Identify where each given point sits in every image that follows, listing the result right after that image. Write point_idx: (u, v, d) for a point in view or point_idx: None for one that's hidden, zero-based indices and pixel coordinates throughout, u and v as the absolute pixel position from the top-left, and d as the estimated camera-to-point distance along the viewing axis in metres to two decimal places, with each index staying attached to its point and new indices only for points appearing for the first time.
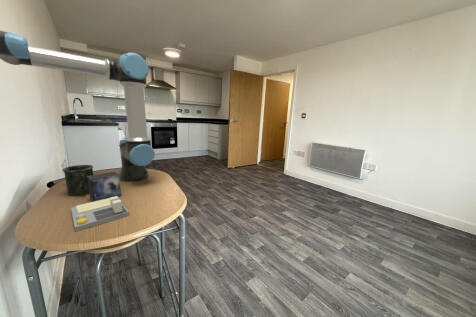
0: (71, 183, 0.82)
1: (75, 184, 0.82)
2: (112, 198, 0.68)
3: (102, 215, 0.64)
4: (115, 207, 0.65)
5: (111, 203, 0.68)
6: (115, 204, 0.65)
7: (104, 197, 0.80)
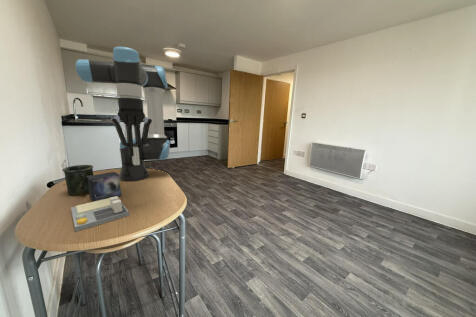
0: (71, 183, 0.82)
1: (75, 184, 0.82)
2: (112, 198, 0.68)
3: (102, 215, 0.64)
4: (115, 207, 0.65)
5: (111, 203, 0.68)
6: (115, 204, 0.65)
7: (104, 197, 0.80)
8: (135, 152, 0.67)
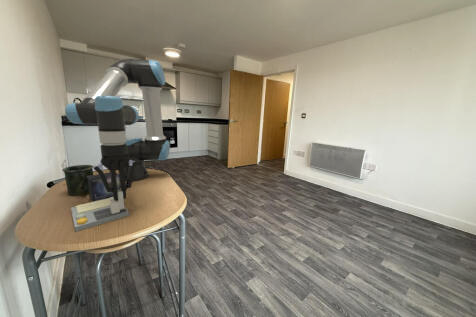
0: (71, 183, 0.82)
1: (75, 184, 0.82)
2: (112, 198, 0.68)
3: (102, 215, 0.64)
4: (112, 208, 0.65)
5: None
6: (112, 205, 0.64)
7: (104, 197, 0.80)
8: (120, 197, 0.65)
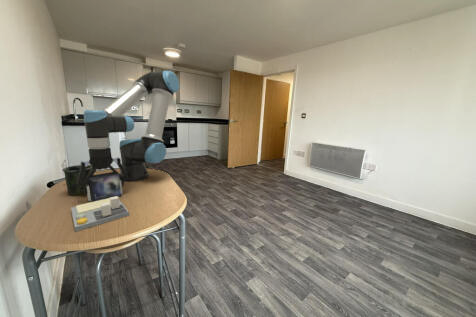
0: (71, 183, 0.82)
1: (75, 184, 0.82)
2: (112, 198, 0.68)
3: (102, 215, 0.64)
4: (103, 210, 0.63)
5: (111, 203, 0.68)
6: (103, 207, 0.63)
7: (104, 197, 0.79)
8: (88, 190, 0.77)
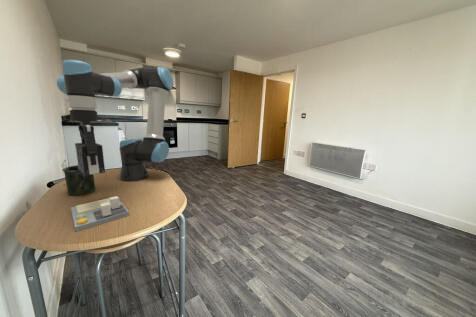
0: (71, 183, 0.82)
1: (75, 184, 0.82)
2: (112, 198, 0.68)
3: (102, 215, 0.64)
4: (103, 210, 0.63)
5: (111, 203, 0.68)
6: (103, 207, 0.63)
7: None
8: None
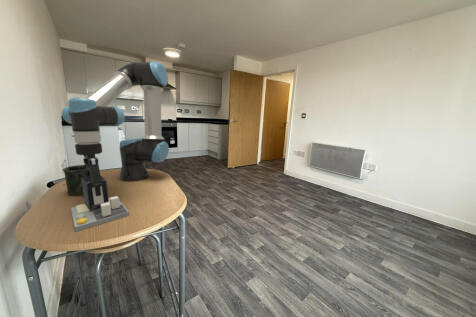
0: (71, 183, 0.82)
1: (75, 184, 0.82)
2: (112, 198, 0.68)
3: (102, 215, 0.64)
4: (103, 210, 0.63)
5: (111, 203, 0.68)
6: (103, 207, 0.63)
7: None
8: None
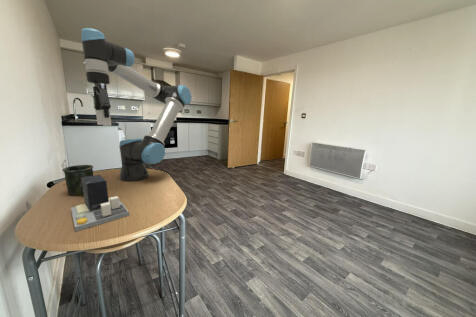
0: (71, 183, 0.82)
1: (75, 184, 0.82)
2: (112, 198, 0.68)
3: (102, 215, 0.64)
4: (103, 210, 0.63)
5: (111, 203, 0.68)
6: (103, 207, 0.63)
7: None
8: None
